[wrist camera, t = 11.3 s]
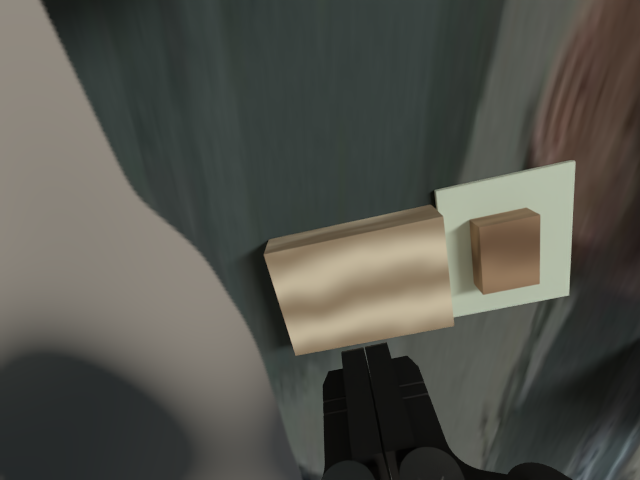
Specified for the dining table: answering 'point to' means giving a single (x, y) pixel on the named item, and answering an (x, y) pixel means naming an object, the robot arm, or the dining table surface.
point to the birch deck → (363, 280)
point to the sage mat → (502, 196)
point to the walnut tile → (506, 250)
